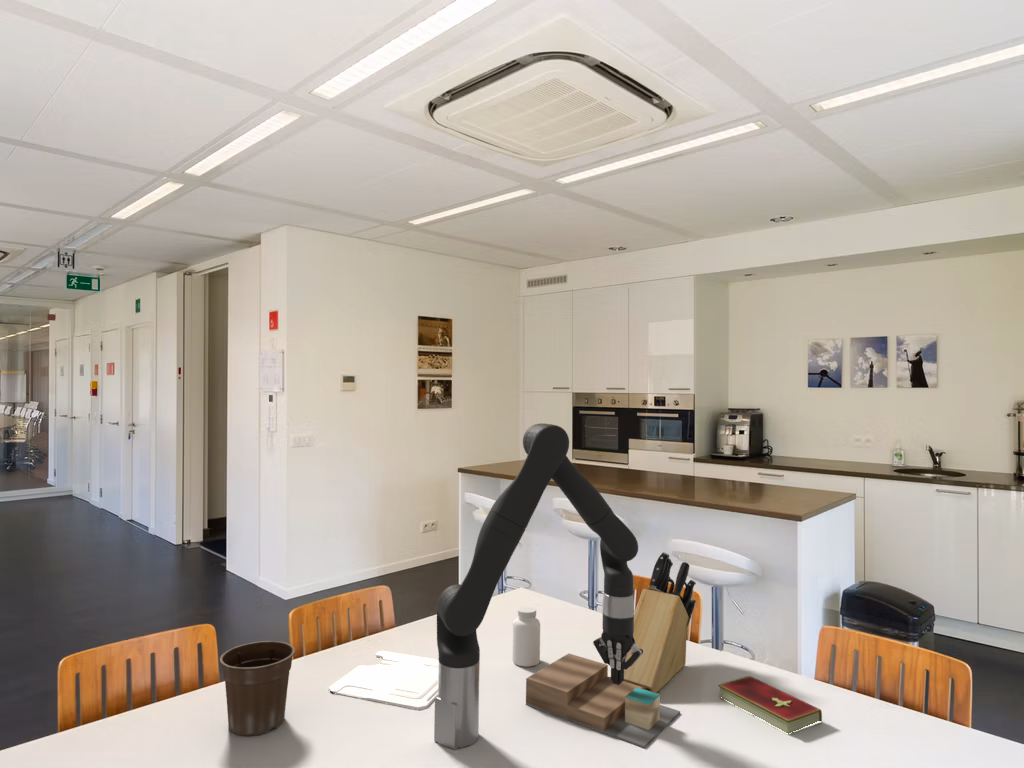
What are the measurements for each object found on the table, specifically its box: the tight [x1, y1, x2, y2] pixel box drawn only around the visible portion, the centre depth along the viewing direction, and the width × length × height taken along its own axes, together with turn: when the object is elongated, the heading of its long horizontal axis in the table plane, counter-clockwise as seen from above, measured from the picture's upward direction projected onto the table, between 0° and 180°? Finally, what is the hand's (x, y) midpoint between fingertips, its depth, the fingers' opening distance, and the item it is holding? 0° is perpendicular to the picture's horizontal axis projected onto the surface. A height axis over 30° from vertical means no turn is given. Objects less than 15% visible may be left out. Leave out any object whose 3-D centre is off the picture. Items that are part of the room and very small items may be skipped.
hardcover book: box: [717, 675, 823, 734], centre depth 161 cm, size 12×21×4 cm, turn 29°
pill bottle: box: [511, 606, 541, 668], centre depth 188 cm, size 8×8×15 cm
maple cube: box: [625, 687, 661, 730], centre depth 154 cm, size 6×6×6 cm
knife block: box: [623, 551, 696, 694], centre depth 183 cm, size 11×35×31 cm, turn 146°
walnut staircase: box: [525, 653, 681, 749], centre depth 160 cm, size 20×32×6 cm, turn 53°
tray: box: [328, 650, 439, 711], centre depth 176 cm, size 28×28×2 cm
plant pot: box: [219, 640, 296, 737], centre depth 151 cm, size 16×16×16 cm
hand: (617, 683), depth 158 cm, fingers closed
